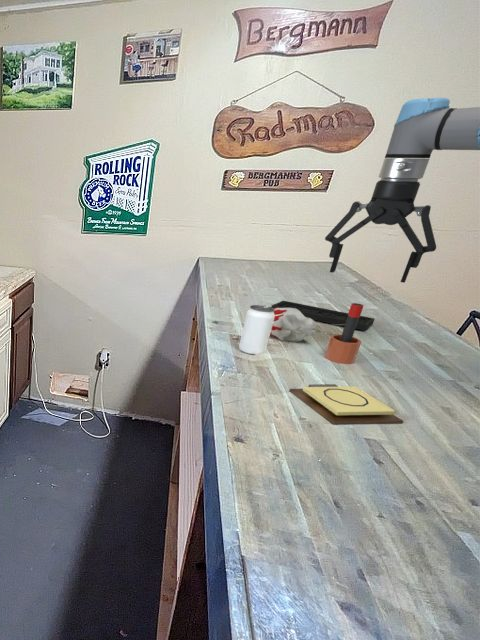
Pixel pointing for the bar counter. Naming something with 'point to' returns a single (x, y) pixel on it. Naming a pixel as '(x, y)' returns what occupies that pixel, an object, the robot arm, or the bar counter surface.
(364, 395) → the notepad
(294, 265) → the bar counter surface
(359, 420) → the clipboard
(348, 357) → the pen cup
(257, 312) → the can
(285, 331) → the grey lumpy piece
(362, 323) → the black long bar
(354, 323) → the marker
